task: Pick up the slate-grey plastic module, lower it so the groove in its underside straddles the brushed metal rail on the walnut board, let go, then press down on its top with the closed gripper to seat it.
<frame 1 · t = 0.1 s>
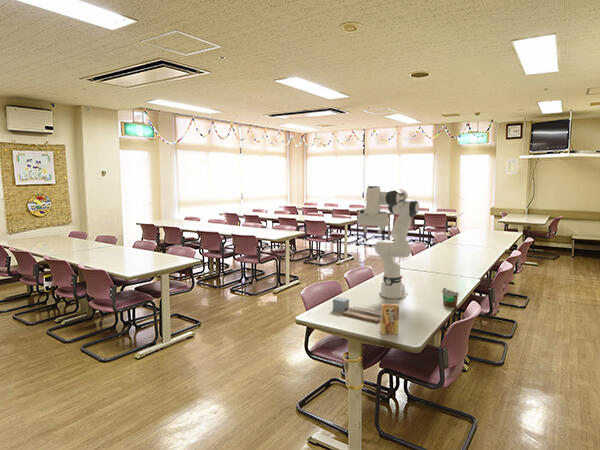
hand: (372, 232, 245), 48 cm above the table, tool pointing down, fingers open, 8 cm apart
candy box: (389, 333, 208), on the table
rail board: (365, 315, 234), on the table
food container: (447, 305, 254), on the table
module: (340, 310, 244), on the table
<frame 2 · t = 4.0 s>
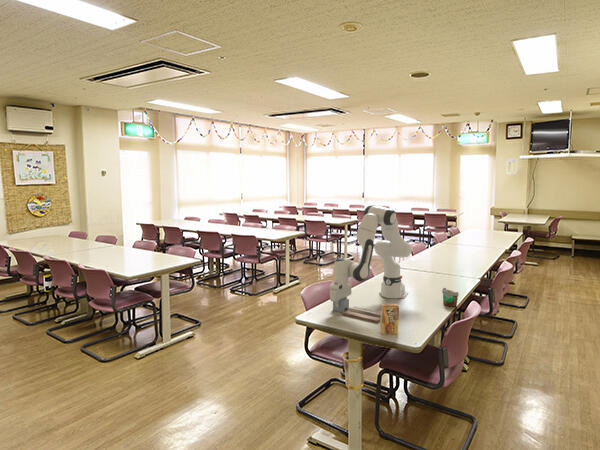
hand: (340, 305, 244), 3 cm above the table, tool pointing down, fingers closed on module, 6 cm apart
module: (340, 310, 244), on the table, touching gripper
everything else where it was.
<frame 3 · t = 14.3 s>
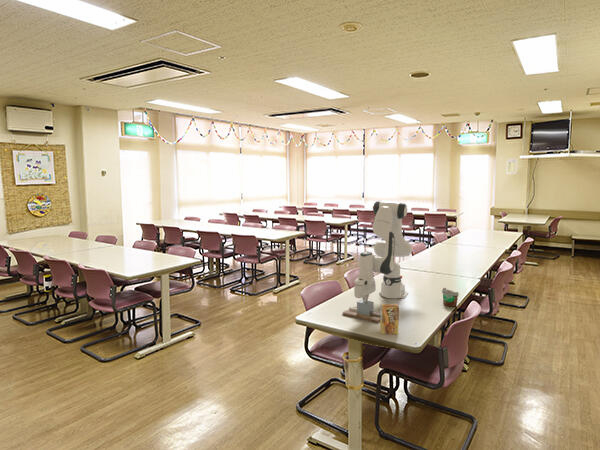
hand: (365, 302, 233), 9 cm above the table, tool pointing down, fingers closed, pressing on module
module: (365, 313, 234), point 2 cm above the table, touching gripper, rail board
everything else where it was.
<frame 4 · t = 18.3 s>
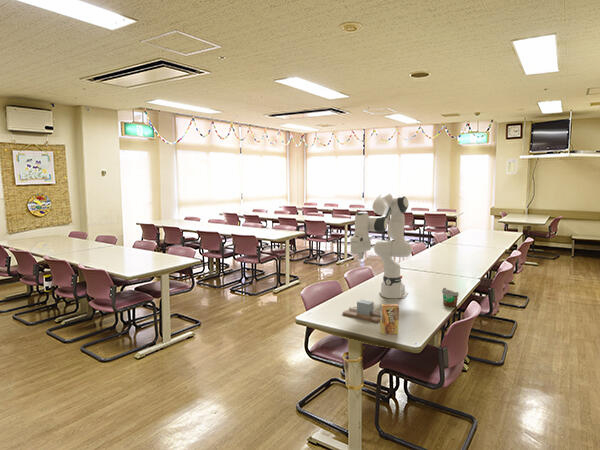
hand: (361, 258, 248), 31 cm above the table, tool pointing down, fingers closed
module: (365, 313, 234), point 1 cm above the table, touching rail board
everything else where it was.
at the end: module inside the target area on the rail board (0.1 cm from its centre), point 1.5 cm above the rail board's base; module tilted 0°; the gripper is holding nothing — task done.
